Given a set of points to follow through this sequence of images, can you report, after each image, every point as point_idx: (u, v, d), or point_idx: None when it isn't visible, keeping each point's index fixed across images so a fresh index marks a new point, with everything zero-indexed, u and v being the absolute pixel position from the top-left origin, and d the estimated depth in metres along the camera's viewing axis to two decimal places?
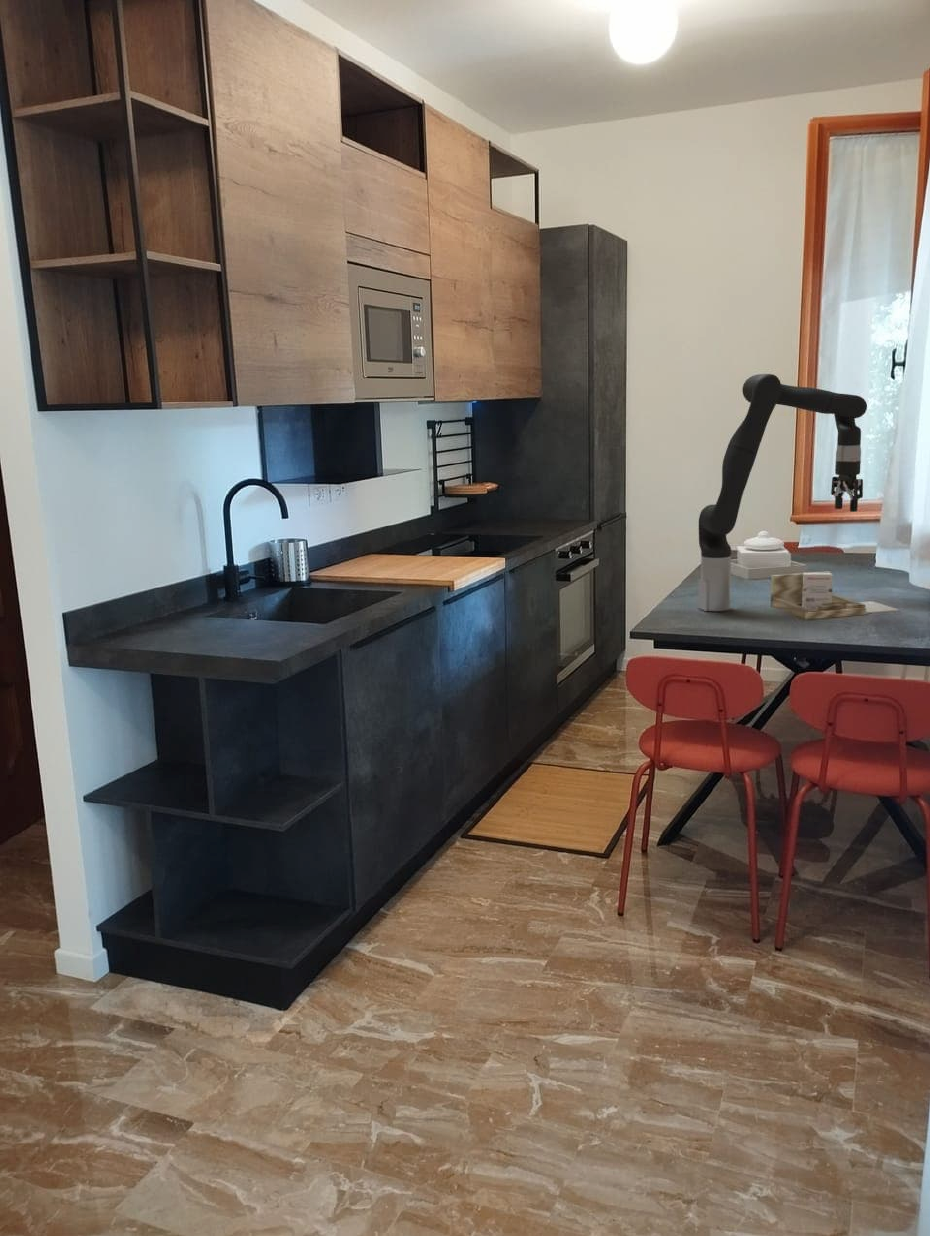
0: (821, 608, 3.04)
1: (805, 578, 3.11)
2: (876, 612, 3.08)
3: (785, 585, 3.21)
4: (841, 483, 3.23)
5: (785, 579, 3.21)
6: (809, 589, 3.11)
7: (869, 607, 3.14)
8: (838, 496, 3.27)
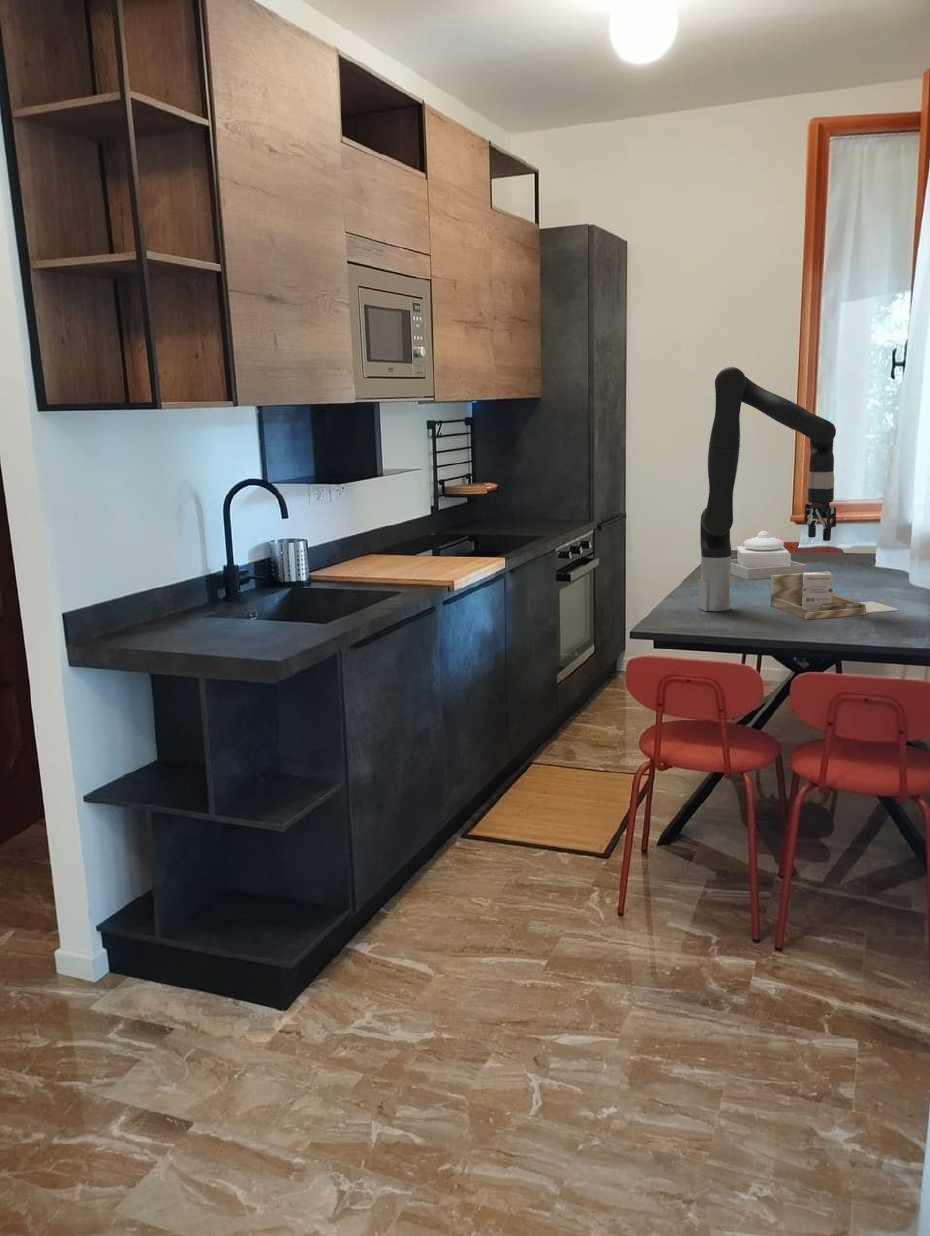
0: (822, 608, 3.05)
1: (805, 578, 3.11)
2: (876, 612, 3.08)
3: (785, 585, 3.21)
4: (814, 511, 3.09)
5: (785, 579, 3.21)
6: (809, 589, 3.12)
7: (869, 607, 3.14)
8: (811, 524, 3.13)
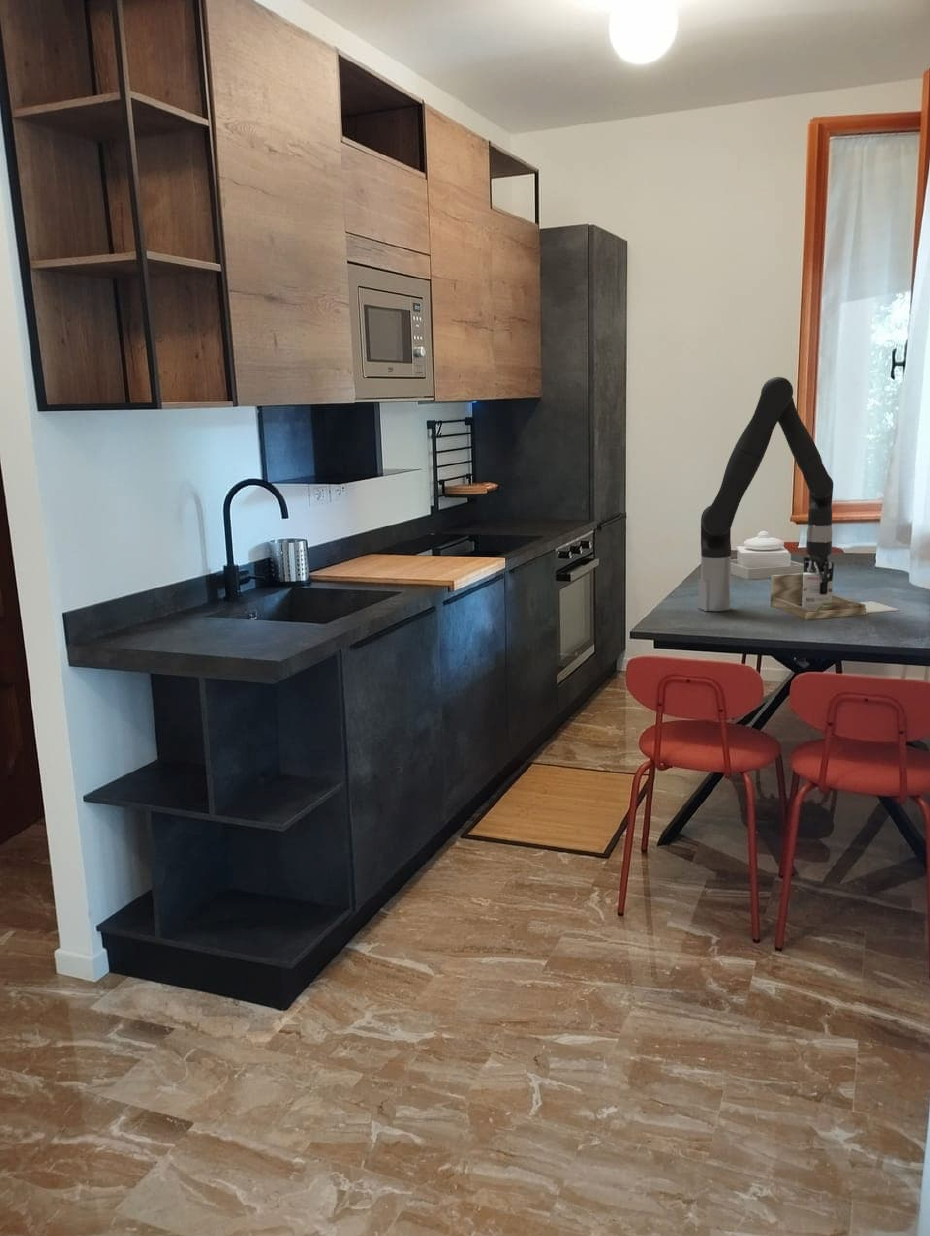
0: (823, 608, 3.05)
1: (805, 578, 3.11)
2: (876, 612, 3.08)
3: (785, 585, 3.21)
4: (812, 563, 3.12)
5: (785, 579, 3.21)
6: (809, 589, 3.11)
7: (869, 607, 3.14)
8: None
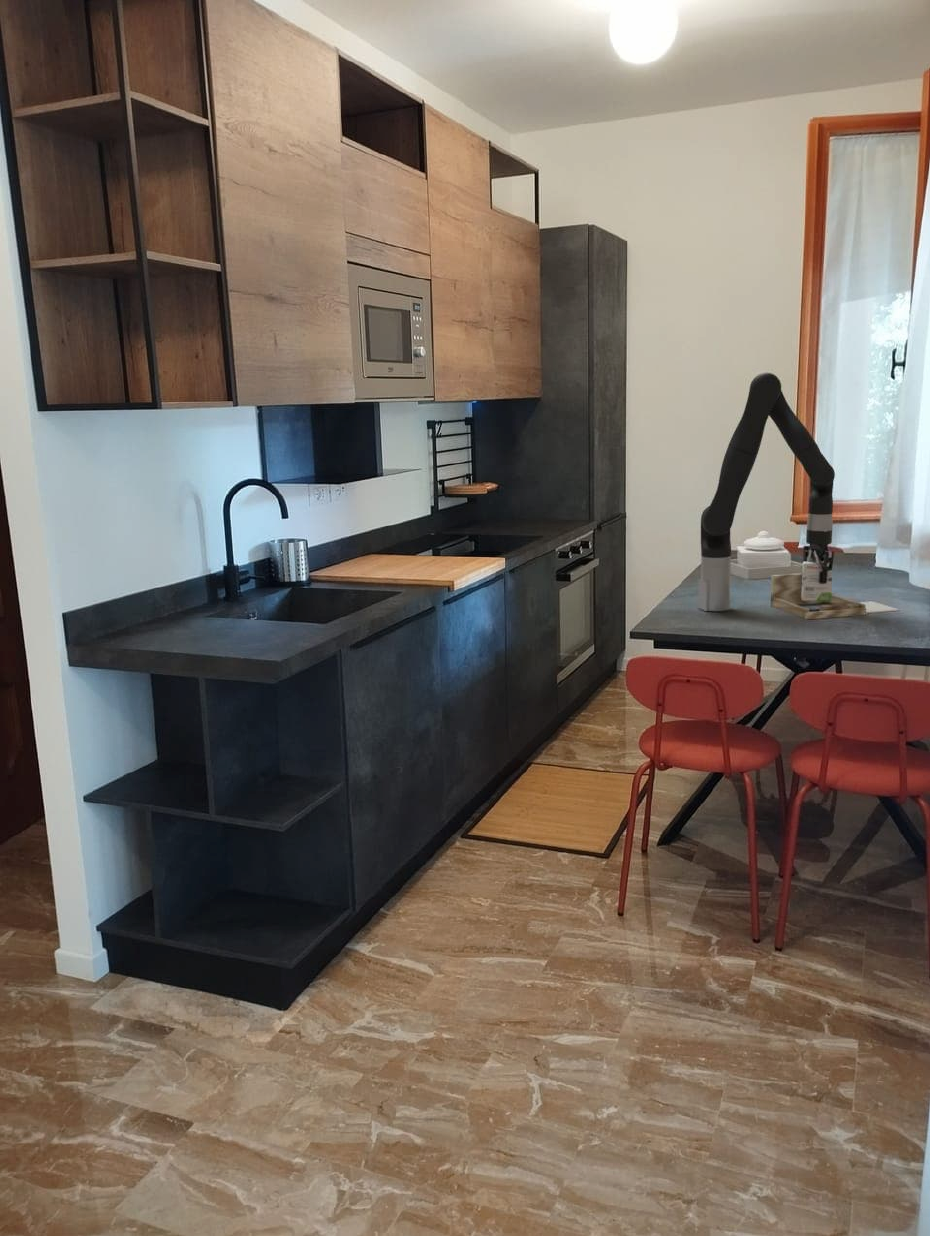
0: (822, 608, 3.05)
1: (805, 567, 3.10)
2: (876, 612, 3.08)
3: (785, 585, 3.21)
4: (812, 552, 3.11)
5: (785, 579, 3.21)
6: (808, 578, 3.11)
7: (869, 607, 3.14)
8: None
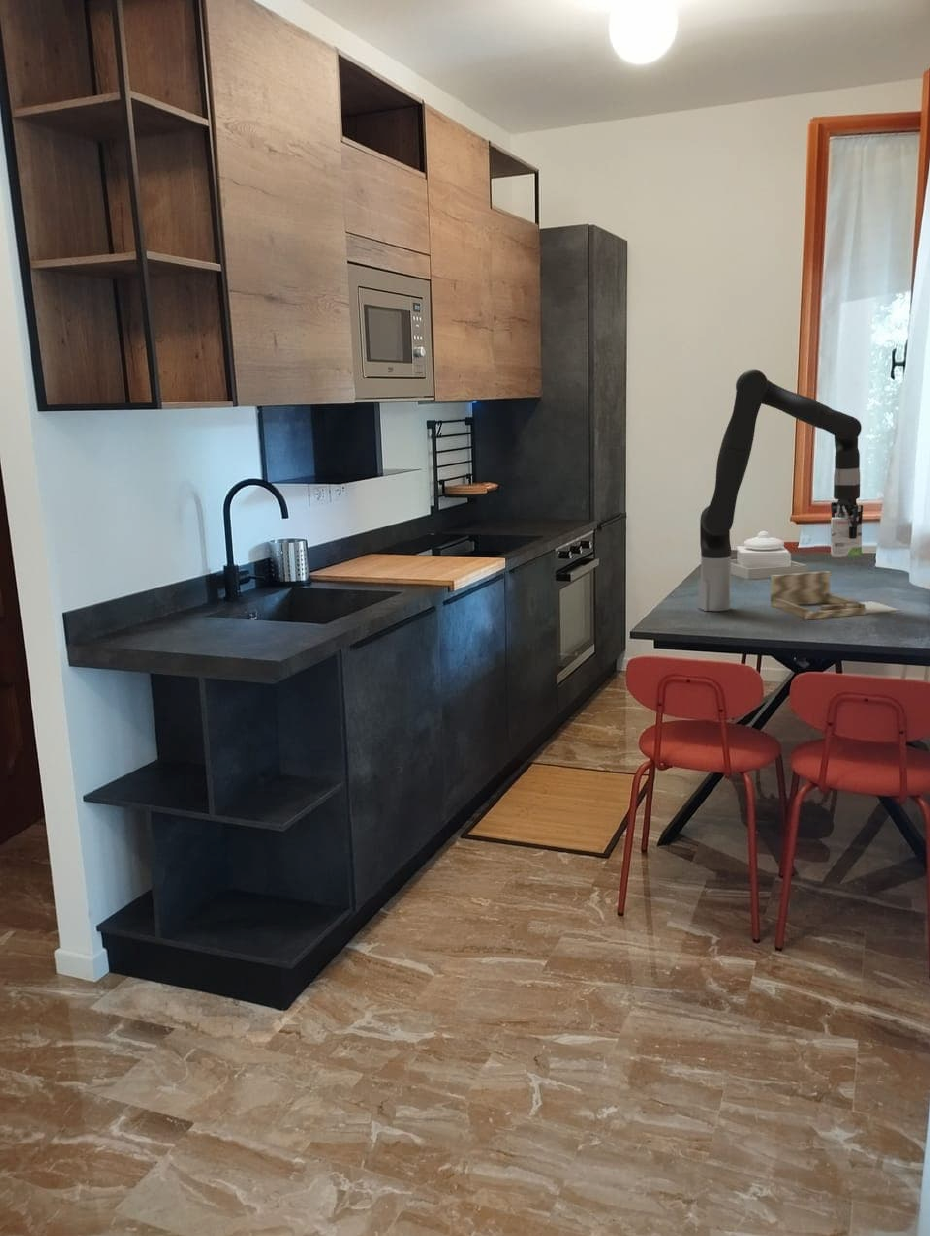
0: (823, 608, 3.05)
1: (834, 523, 3.08)
2: (876, 612, 3.08)
3: (785, 585, 3.21)
4: (841, 507, 3.08)
5: (785, 579, 3.21)
6: (838, 534, 3.08)
7: (869, 607, 3.14)
8: None
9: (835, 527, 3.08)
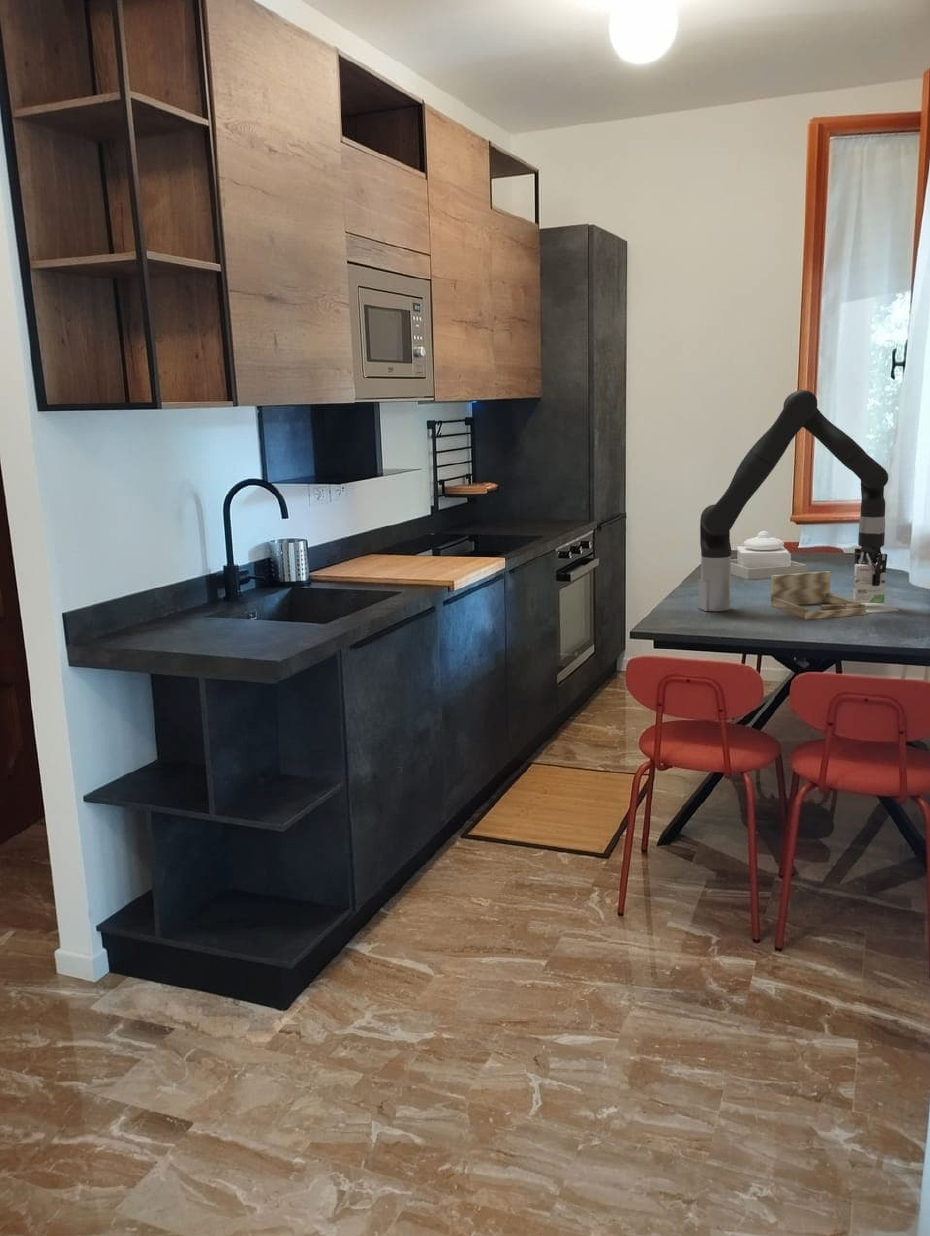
0: (822, 607, 3.05)
1: (857, 569, 3.11)
2: (876, 612, 3.08)
3: (785, 585, 3.21)
4: (864, 554, 3.12)
5: (785, 579, 3.21)
6: (861, 580, 3.11)
7: (869, 607, 3.14)
8: None
9: (859, 574, 3.11)
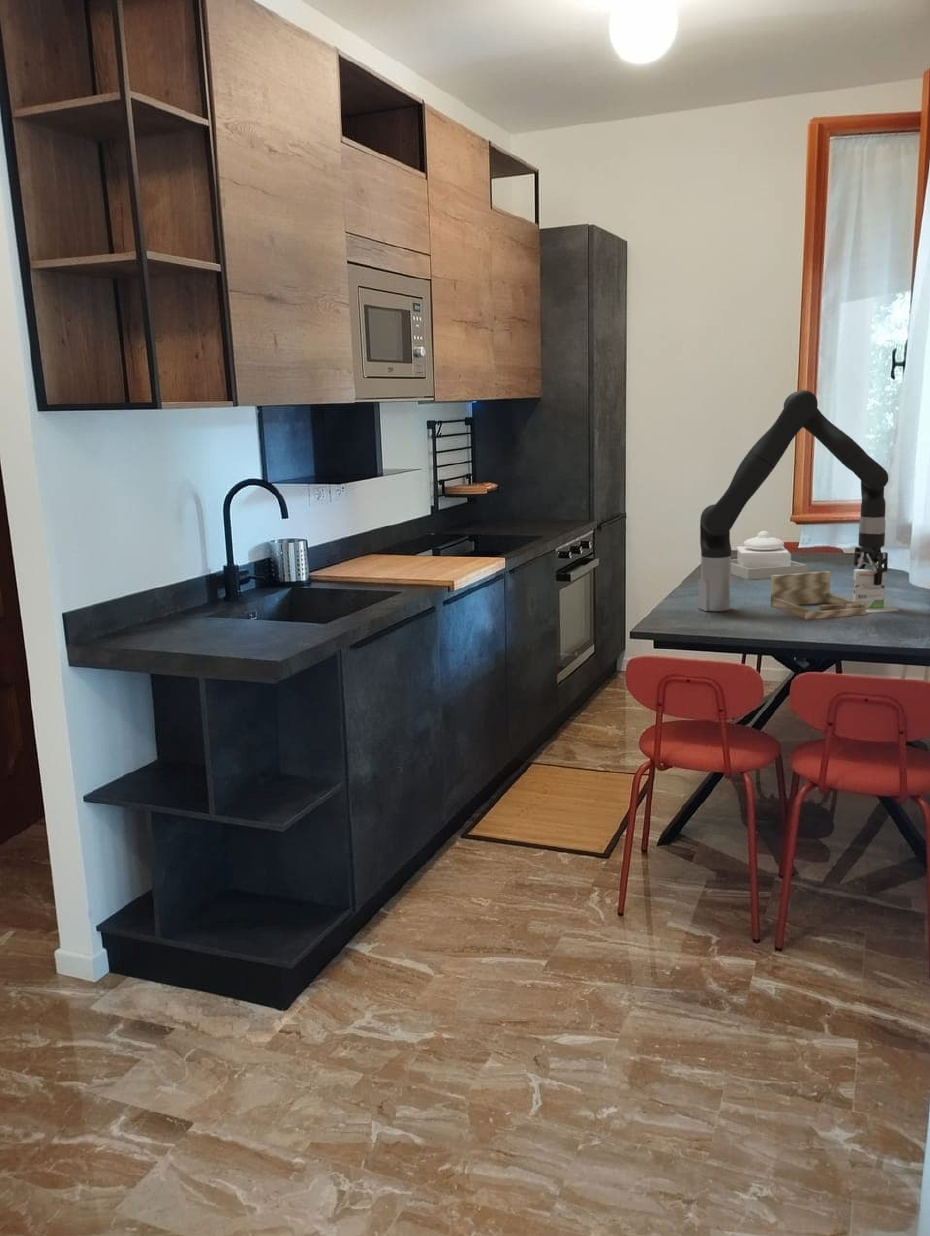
0: (821, 607, 3.06)
1: (857, 575, 3.11)
2: (876, 612, 3.08)
3: (785, 585, 3.21)
4: (864, 555, 3.12)
5: (785, 579, 3.21)
6: (861, 586, 3.11)
7: None
8: (861, 567, 3.16)
9: (859, 579, 3.11)
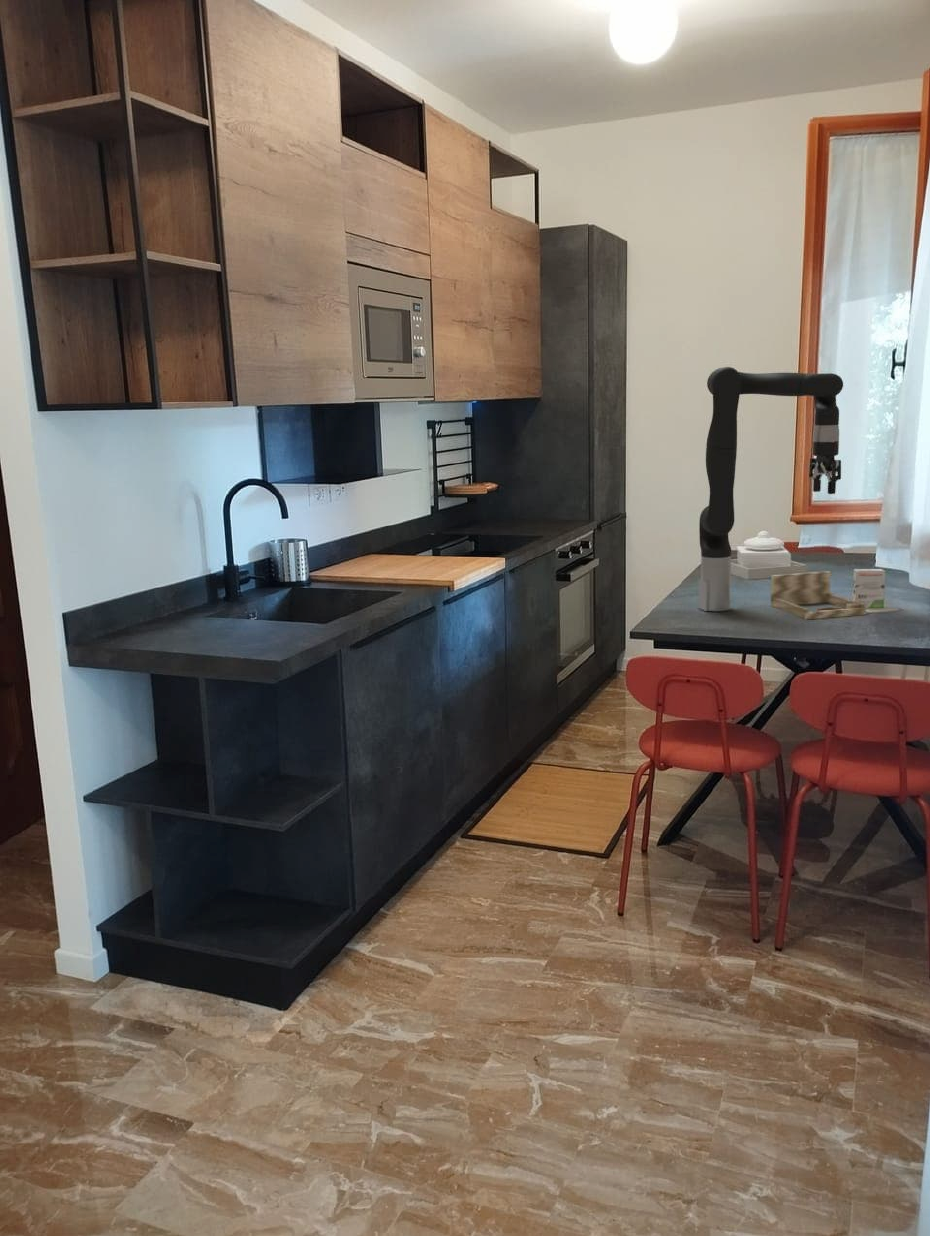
0: (818, 609, 3.08)
1: (857, 575, 3.11)
2: (876, 612, 3.08)
3: (785, 585, 3.21)
4: (819, 465, 3.11)
5: (785, 579, 3.21)
6: (861, 586, 3.12)
7: None
8: (816, 478, 3.16)
9: (859, 579, 3.11)
